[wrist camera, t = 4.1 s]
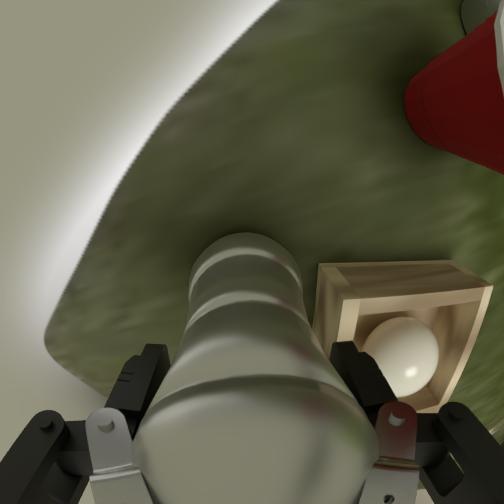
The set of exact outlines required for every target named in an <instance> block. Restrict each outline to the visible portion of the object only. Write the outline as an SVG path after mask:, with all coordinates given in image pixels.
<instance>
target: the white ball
mask: <svg viewBox="0 0 504 504" xmlns="http://www.w3.org/2000/svg"><path fill="white" fill-rule="evenodd" d="M364 351H365V352H366V353H367V354H369V355H370V356H371V357H373V358H374V359H375V361H376V363H377V364H378V366H379V369H380V370H381V371H382V373H383V376H385V378H386V380H387V382H388V383H389V385H390V387H391V389H392V390H393V392H394V394H395V396H396V397H397V398H398V397H405V396H409V395H411V394H413V393H415V392H417V391H419V390H420V389H421V388H423V387H424V386H425V385H426V384H427V383H428V382H429V381H430V379H431V378H432V376H433V374H434V372H435V370H436V368H437V364H438V359H439V348H438V343H437V340H436V337H435V335H434V334H433V332H432V331H431V329H430V328H429V327H428V326H427V325H426V324H424V323H423V322H421V321H420V320H418V319H415V318H411V317H395V318H391V319H389V320H386V321H384V322H383V323H381V324H380V325H378V326H377V327H376V328H375V329H374V330H373V331H372V332H371V333H370V334H369V336H368V337H367V339H366V341H365V343H364V345H363V348H362V352H364Z"/></svg>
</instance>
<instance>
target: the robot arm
mask: <svg viewBox="0 0 504 504" xmlns="http://www.w3.org/2000/svg"><path fill="white" fill-rule="evenodd" d="M500 1H502V0H464V1H463V3H462V5H461V18H462V22H463V26H464V28H465V31H466V34H467V35H468V34H470V33H471V32H472V31H473V30H474V28H475V27H477V26H479V25H480V24H482V23H484V22H485V20H486V19H487V18H488V17H490V16H492V15H494V12H496V11H497V10H498V8H499V4H500ZM329 361H330V362H331V364H332V365H333V367H334V368H335V370H336V371H337V372H338V374H339V375H340V377H341V378H342V380H343V381H344V383H345V384H346V385H347V387H348V388H349V390H350V391H351V393H352V394H353V395H354V397H355V398H356V400H357V401H358V404H359V405H360V406H361V407H362V408H363V410H364V411H365V413H366V415H367V417H368V419H369V421H370V423H371V424H372V426H373V428H374V430H375V431H376V434H377V437H378V440H379V460H378V459H377V460H376V461H375V463H374V464H373V465H372V467H371V469H370V471H369V473H368V475H367V478H366V481H365V484H364V487H363V489H362V492H361V495H360V498H359V501H358V503H357V504H415V499H416V493H417V487H418V480H419V478H420V480H421V482H422V483H423V485H424V487H425V488H426V490H427V492H428V494H429V495H430V496H431V499H432V500H433V502H434V504H504V450H503V448H502V447H501V446H500V445H499V443H498V442H497V441H496V440H495V439H494V437H493V436H492V435H491V434H490V433H489V431H488V430H487V429H486V428H485V427H484V426H483V424H482V423H481V422H480V421H479V420H478V419H477V417H476V416H475V415H474V414H473V413H472V412H471V411H470V409H469V408H468V407H466V406H465V405H463V404H461V403H458V402H448V403H445V404H444V405H442V406H441V408H440V409H439V411H438V413H416V411H415V409H414V408H413V407H412V406H410V405H409V404H407V403H404V402H400V401H398V399H397V397H396V396H395V394H394V392H393V390H392V389H391V387H390V385H389V383H388V382H387V380H386V378H385V376H383V373H382V371H381V370H380V369H379V366H378V364H377V363H376V361H375V359H374V358H373V357H371V356H370V355H369V354H367V353H366V352H365V351H364V352H359V351H358V349H357V348H356V346H355V344H354V342H353V341H341V342H333V344H332V347H331V353H330V358H329ZM170 367H171V366H170V360H169V355H168V350H167V346H166V345H163V344H146V345H145V347H144V350H143V352H142V354H141V356H138V355H134V356H133V357H131V358H130V359H129V360H128V361H127V362H126V363H125V364H124V366H123V369H122V371H121V374H120V375H119V377H118V379H117V381H116V383H115V385H114V387H113V389H112V392H111V394H110V396H109V398H108V400H107V402H106V405H105V407H104V408H101V409H98V410H95V411H94V412H92V413H91V414H90V415H89V416H88V418H87V419H86V420H83V421H64V419H63V418H62V416H61V415H60V414H59V413H58V412H56V411H53V410H45V411H41V412H39V413H38V414H36V415H35V416H34V417H33V418H32V419H31V420H30V422H29V423H28V424H27V426H26V427H25V428H24V430H23V431H22V433H21V434H20V435H19V437H18V438H17V439H16V441H15V442H14V444H13V445H12V446H11V448H10V449H9V451H8V452H7V454H6V455H5V456H4V458H3V459H2V461H1V462H0V504H78V502H79V500H80V498H81V496H82V494H83V492H84V490H85V488H86V486H87V484H88V482H89V480H90V484H91V488H92V493H93V496H94V501H95V504H154V502H153V500H152V498H151V496H150V493H149V491H148V489H147V486H146V484H145V482H144V479H143V477H142V474H141V472H140V469H139V467H138V466H133V464H132V454H131V445H132V442H133V440H134V438H135V435H136V433H137V430H138V427H139V425H140V422H141V420H142V419H143V417H144V416H145V413H146V411H147V409H148V408H149V406H150V404H151V402H152V400H153V398H154V396H155V394H156V393H157V391H158V389H159V387H160V385H161V383H162V381H163V380H164V378H165V376H166V374H167V372H168V370H169V368H170ZM450 453H451V454H452V455H453V457H454V458H455V459H456V461H457V462H458V464H459V465H460V466H461V468H462V470H463V472H464V474H463V473H462V471H461V470H460V468H459V467H458V466H457V464H456V463H455V461H454V460H453V459H452V457H451V456H450Z"/></svg>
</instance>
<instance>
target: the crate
mask: <svg viewBox="0 0 504 504" xmlns="http://www.w3.org/2000/svg"><path fill="white" fill-rule="evenodd" d="M492 289H493V285H491V284H490V283H488V282H487V281H485V280H484V279H482V278H481V277H479V276H477V275H476V274H474V273H473V272H471V271H470V270H468V269H466V268H465V267H463V266H461V265H460V264H458V263H456V262H455V261H453V260H428V261H393V262H353V263H319V264H318V276H317V288H316V298H315V308H314V317H313V326H312V330H313V332H314V334H315V336H316V338H317V340H318V342H319V344H320V346H321V348H322V350H323V352H324V354H325V355H326V357H327V358H328V359H329V358H330V353H331V347H332V344H333V342H341V341H353V342H354V344H355V346H356V348H357V349H358V351H359V352H362V348H363V345H364V343H365V341H366V339H367V337H368V336H369V334H370V333H371V332H372V331H373V330H374V329H375V328H376V327H377V326H378V325H380V324H381V323H383V322H384V321H386V320H389V319H391V318H395V317H411V318H415V319H418V320H420V321H421V322H423V323H424V324H426V325H427V326H428V327H429V328H430V329H431V331H432V332H433V334H434V335H435V337H436V340H437V343H438V348H439V359H438V364H437V368H436V370H435V372H434V374H433V376H432V378H431V379H430V381H429V382H428V383H427V384H426V385H425V386H424V387H423V388H421V389H420V390H419V391H417V392H415V393H413V394H411V395H409V396H405V397H398V398H397V399H398V401H400V402H404V403H407V404H409V405H410V406H412V407H413V408H414V409H415V411H416V413H438V411H439V409H440V408H441V406H442V405H444V404H445V403H447V401H448V399H449V398H450V396H451V394H452V392H453V390H454V388H455V386H456V384H457V382H458V380H459V378H460V375H461V373H462V371H463V369H464V367H465V364H466V362H467V360H468V357H469V355H470V353H471V350H472V348H473V345H474V343H475V340H476V338H477V335H478V332H479V330H480V327H481V324H482V321H483V318H484V315H485V312H486V309H487V306H488V303H489V299H490V296H491V292H492Z"/></svg>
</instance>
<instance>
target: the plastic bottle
mask: <svg viewBox="0 0 504 504" xmlns="http://www.w3.org/2000/svg"><path fill="white" fill-rule="evenodd" d="M188 299H189V310H188V317H187V325H186V328H185V331H184V334H183V337H182V339H181V342H180V344H179V347H178V350H177V352H176V355H175V358H174V360H173V363H172V365H171V367H170V368H169V370H168V372H167V374H166V376H165V378H164V380H163V381H162V383H161V385H160V387H159V389H158V391H157V393H156V394H155V396H154V398H153V400H152V402H151V404H150V406H149V408H148V409H147V411H146V413H145V416H144V417H143V419H142V420H141V422H140V425H139V427H138V430H137V433H136V435H135V438H134V440H133V442H132V445H131V454H132V464H133V466H138V467H139V469H140V472H141V474H142V477H143V479H144V482H145V484H146V486H147V489H148V491H149V493H150V496H151V498H152V500H153V502H154V504H357V503H358V501H359V498H360V495H361V492H362V489H363V487H364V484H365V481H366V478H367V475H368V473H369V471H370V469H371V467H372V465H373V464H374V463H375V461H376V460H377V459H378V460H379V440H378V437H377V434H376V431H375V430H374V428H373V426H372V424H371V423H370V421H369V419H368V417H367V415H366V413H365V411H364V410H363V408H362V407H361V406H360V405H359V404H358V401H357V400H356V398H355V397H354V395H353V394H352V393H351V391H350V390H349V388H348V387H347V385H346V384H345V383H344V381H343V380H342V378H341V377H340V375H339V374H338V372H337V371H336V370H335V368H334V367H333V365H332V364H331V362H330V361H329V359H328V358H327V357H326V355H325V354H324V352H323V350H322V348H321V346H320V344H319V342H318V340H317V338H316V336H315V334H314V332H313V330H312V328H311V326H310V324H309V322H308V319H307V315H306V311H305V306H304V302H303V286H302V279H301V275H300V270H299V267H298V265H297V263H296V261H295V259H294V258H293V257H292V255H291V254H290V253H289V252H288V251H287V250H286V249H285V248H284V247H282V246H281V245H280V244H279V243H277V242H276V241H274V240H272V239H270V238H268V237H267V236H263V235H260V234H257V233H249V232H244V233H235V234H231V235H227V236H225V237H223V238H220V239H218V240H217V241H215V242H214V243H213V244H211V245H210V246H209V247H207V248H206V249H205V250H204V251H203V252H202V253H201V255H200V256H199V257H198V258H197V260H196V261H195V263H194V265H193V267H192V270H191V273H190V276H189V289H188Z"/></svg>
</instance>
